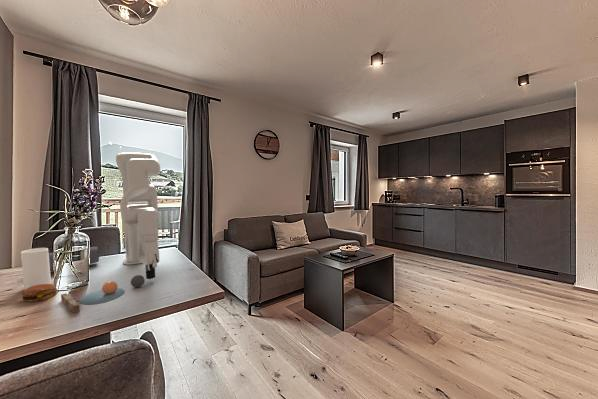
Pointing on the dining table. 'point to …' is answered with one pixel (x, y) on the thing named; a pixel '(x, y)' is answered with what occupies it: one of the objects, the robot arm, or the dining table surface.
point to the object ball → (109, 287)
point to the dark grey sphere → (137, 281)
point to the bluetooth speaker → (93, 257)
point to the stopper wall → (70, 303)
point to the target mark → (101, 297)
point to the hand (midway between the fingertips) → (150, 278)
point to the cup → (35, 267)
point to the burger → (39, 292)
